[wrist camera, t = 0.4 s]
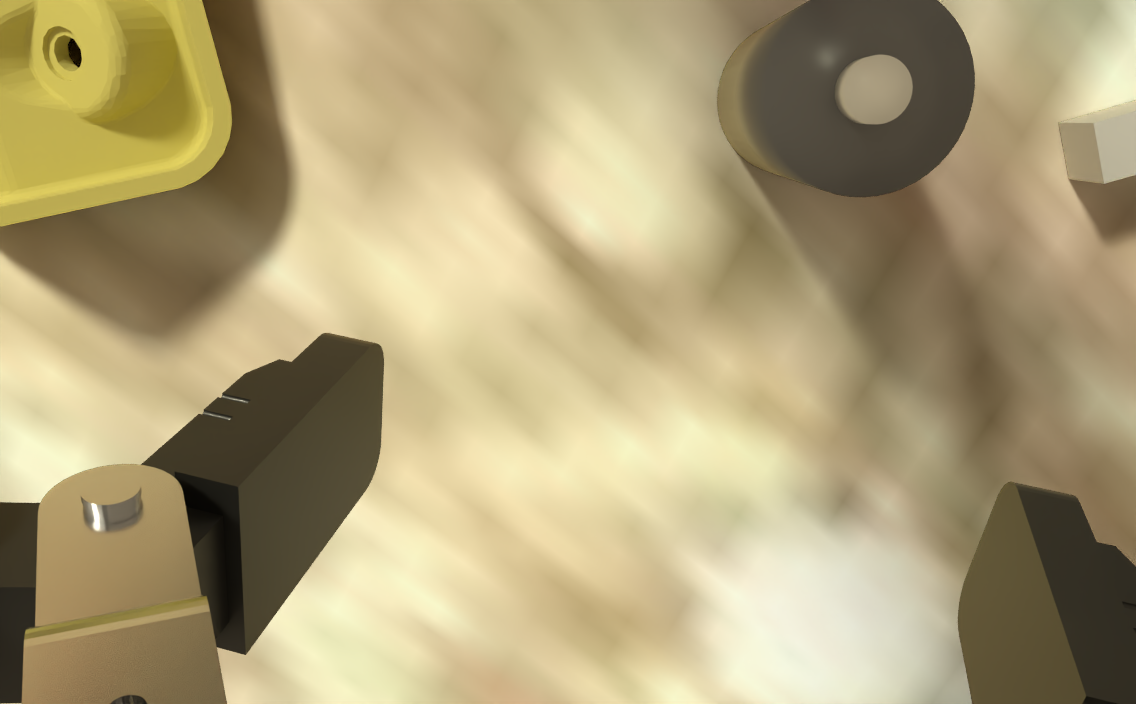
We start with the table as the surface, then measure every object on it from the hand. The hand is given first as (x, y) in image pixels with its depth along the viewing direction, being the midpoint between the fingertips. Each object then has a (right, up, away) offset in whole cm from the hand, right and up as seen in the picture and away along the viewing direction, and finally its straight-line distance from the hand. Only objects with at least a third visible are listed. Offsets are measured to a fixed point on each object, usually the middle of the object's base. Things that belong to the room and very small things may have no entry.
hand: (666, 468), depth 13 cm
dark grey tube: (+6, +10, +21) cm, 24 cm away
